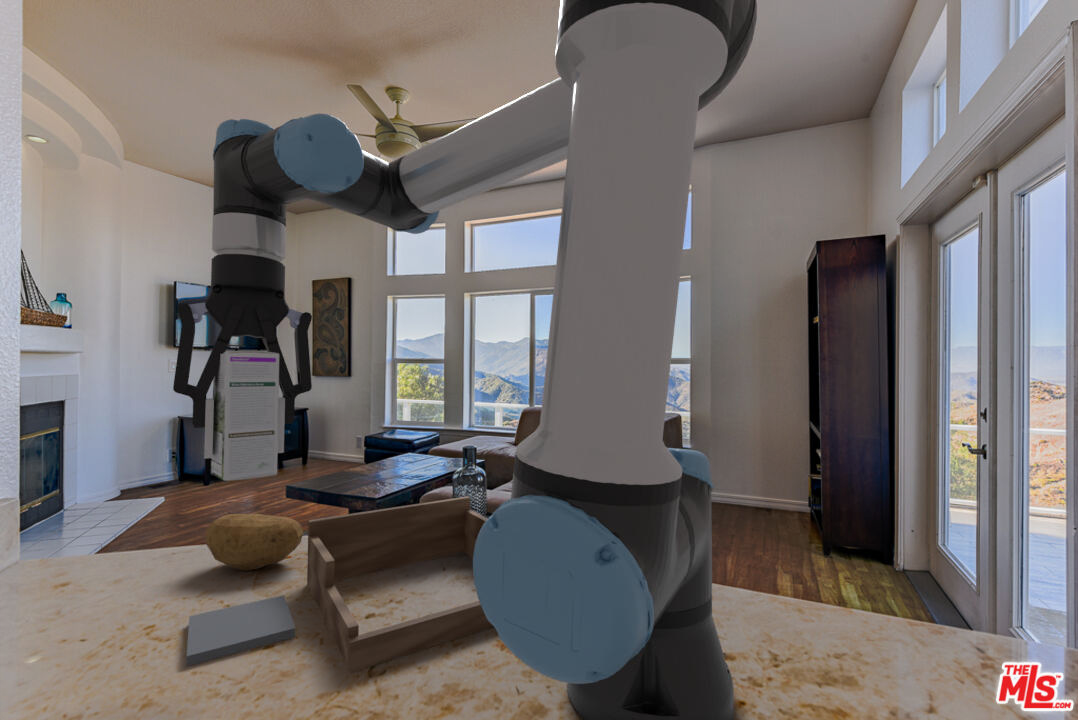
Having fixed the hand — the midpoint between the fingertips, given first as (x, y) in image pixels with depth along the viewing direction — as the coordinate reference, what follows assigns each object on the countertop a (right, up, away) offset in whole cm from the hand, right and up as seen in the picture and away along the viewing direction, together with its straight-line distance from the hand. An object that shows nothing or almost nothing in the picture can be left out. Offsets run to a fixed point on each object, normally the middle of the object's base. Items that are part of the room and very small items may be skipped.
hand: (244, 453), depth 57 cm
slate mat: (0, -20, -1) cm, 20 cm away
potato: (-9, -21, +18) cm, 30 cm away
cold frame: (+19, -21, +9) cm, 29 cm away
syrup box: (0, -3, 0) cm, 3 cm away
